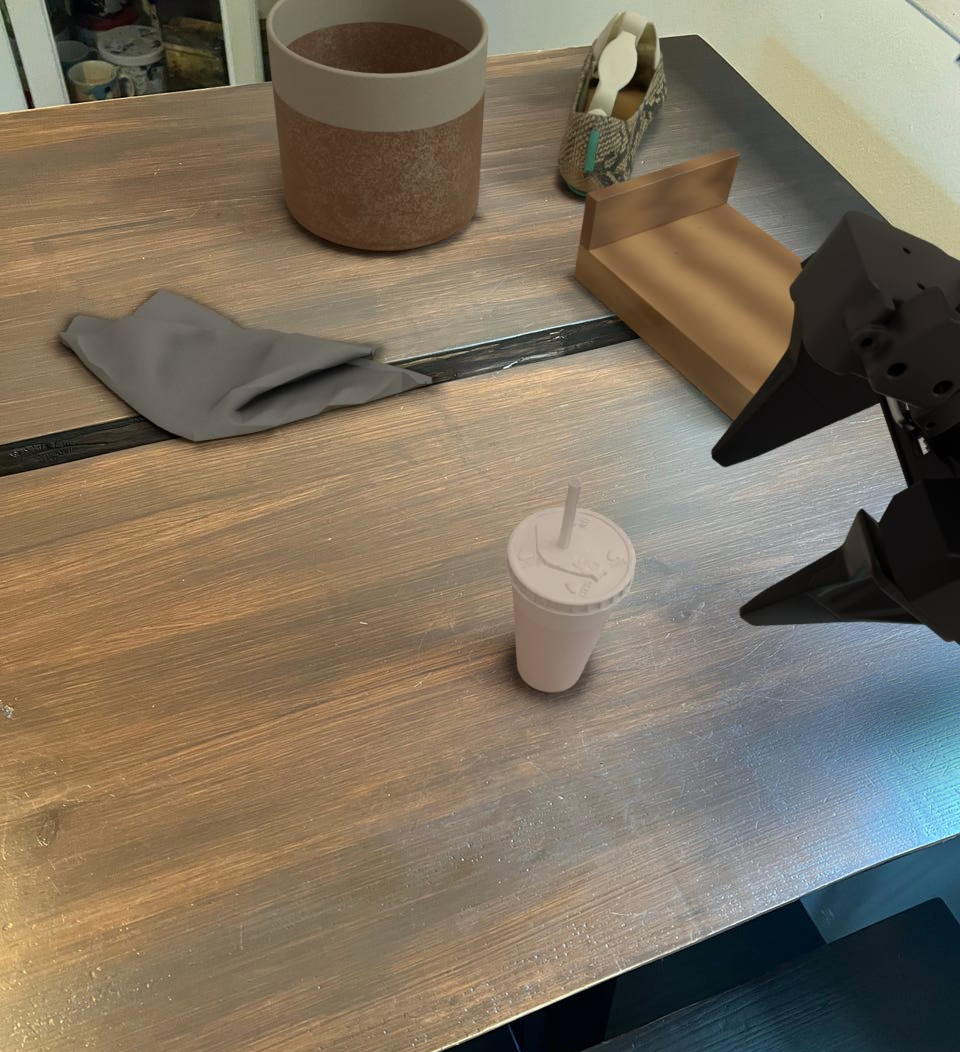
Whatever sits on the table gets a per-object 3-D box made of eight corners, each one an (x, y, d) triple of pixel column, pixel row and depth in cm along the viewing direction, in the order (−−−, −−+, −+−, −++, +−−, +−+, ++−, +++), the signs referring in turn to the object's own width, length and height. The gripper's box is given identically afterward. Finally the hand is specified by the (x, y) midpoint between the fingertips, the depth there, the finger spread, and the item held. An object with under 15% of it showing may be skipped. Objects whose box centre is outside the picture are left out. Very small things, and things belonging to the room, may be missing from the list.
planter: (247, 189, 82) (222, 6, 71) (399, 133, 89) (397, -42, 78) (362, 283, 76) (354, 98, 65) (517, 215, 82) (534, 37, 71)
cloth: (7, 387, 67) (-4, 360, 65) (118, 275, 74) (110, 248, 73) (365, 497, 63) (364, 471, 61) (442, 367, 71) (443, 340, 69)
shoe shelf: (708, 229, 83) (730, 146, 77) (884, 366, 73) (924, 283, 68) (573, 277, 78) (586, 192, 72) (744, 430, 68) (774, 347, 63)
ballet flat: (672, 82, 98) (694, -24, 90) (636, 215, 83) (658, 102, 76) (589, 67, 98) (604, -39, 91) (539, 197, 84) (551, 83, 77)
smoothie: (547, 601, 59) (579, 421, 47) (629, 668, 56) (684, 494, 45) (469, 661, 56) (484, 484, 45) (552, 734, 53) (590, 566, 42)
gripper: (919, 15, 35) (592, 296, 45) (1108, 354, 24) (622, 631, 34) (1055, 214, 41) (741, 425, 51) (1255, 558, 30) (807, 744, 40)
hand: (729, 534), depth 43 cm, fingers open, 9 cm apart
